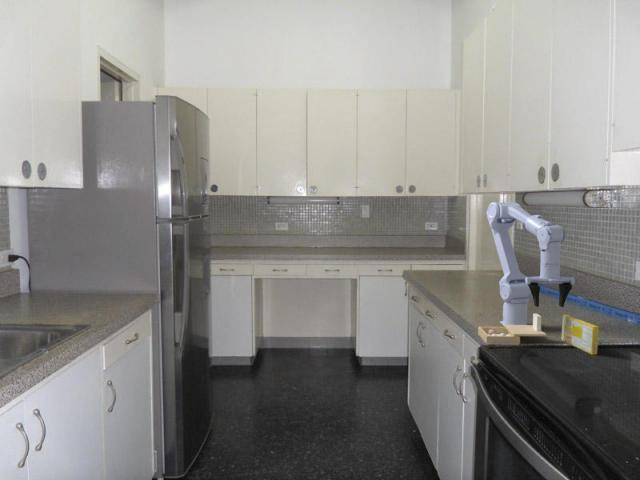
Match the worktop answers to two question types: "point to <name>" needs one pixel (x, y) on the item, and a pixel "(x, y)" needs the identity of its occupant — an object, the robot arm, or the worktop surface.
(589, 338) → the candy box
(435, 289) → the worktop surface
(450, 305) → the worktop surface
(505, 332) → the beige shallow box
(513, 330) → the lid
